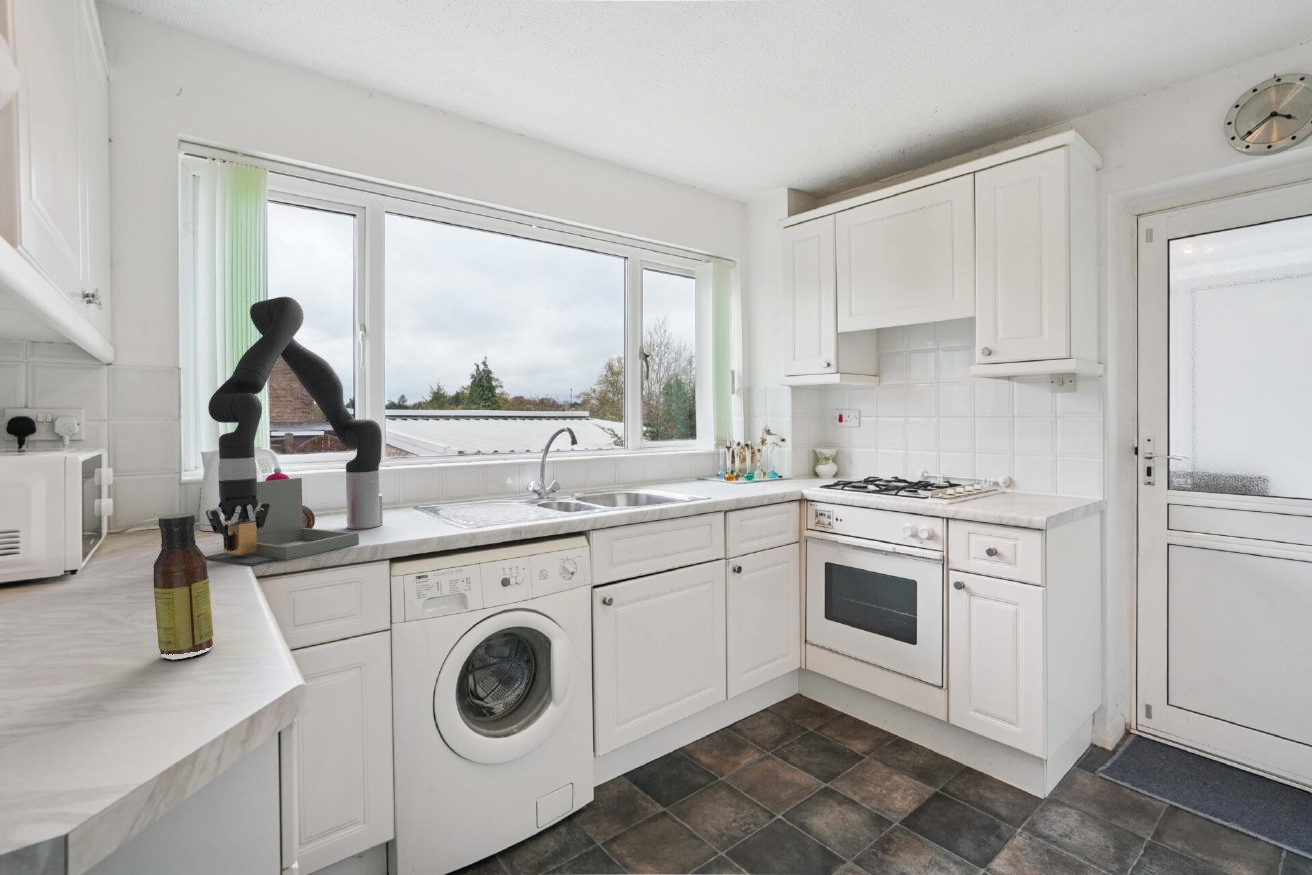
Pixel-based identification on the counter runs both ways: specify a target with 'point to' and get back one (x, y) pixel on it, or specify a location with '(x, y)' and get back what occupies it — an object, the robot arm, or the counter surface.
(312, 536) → the case
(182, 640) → the sauce bottle
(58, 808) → the counter surface
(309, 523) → the brown rounded piece
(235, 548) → the block
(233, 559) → the mat
